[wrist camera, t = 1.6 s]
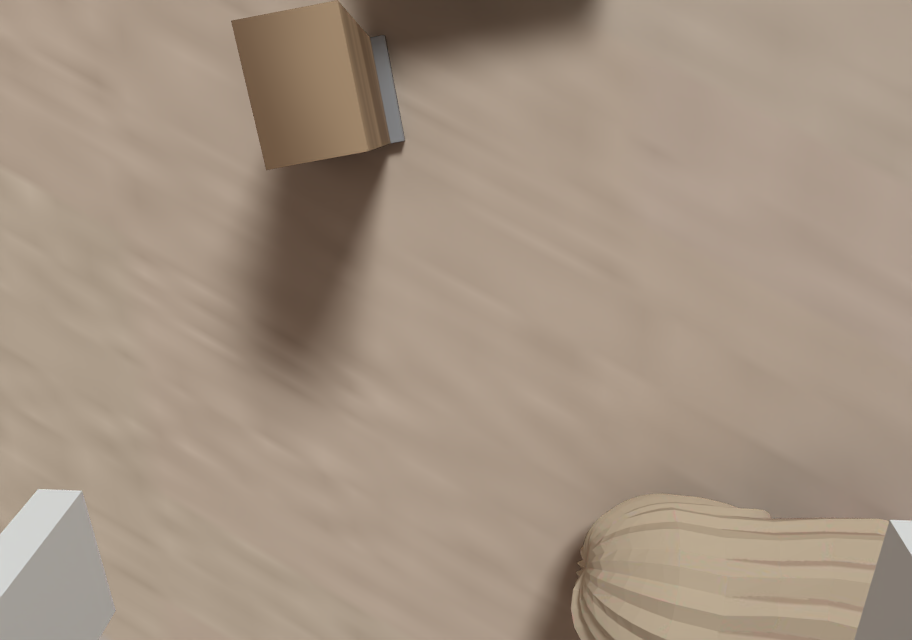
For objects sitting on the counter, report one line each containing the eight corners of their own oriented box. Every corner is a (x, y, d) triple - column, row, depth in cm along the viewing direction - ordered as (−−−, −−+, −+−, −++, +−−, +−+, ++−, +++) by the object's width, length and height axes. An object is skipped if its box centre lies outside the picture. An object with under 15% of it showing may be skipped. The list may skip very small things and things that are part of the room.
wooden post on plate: (385, 36, 34) (357, -4, 23) (404, 140, 35) (387, 147, 24) (284, 55, 34) (211, 24, 23) (307, 158, 35) (247, 173, 24)
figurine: (1163, 548, 40) (596, 413, 38) (1350, 658, 32) (637, 494, 30) (1067, 736, 43) (532, 620, 41) (1216, 884, 35) (553, 747, 33)
